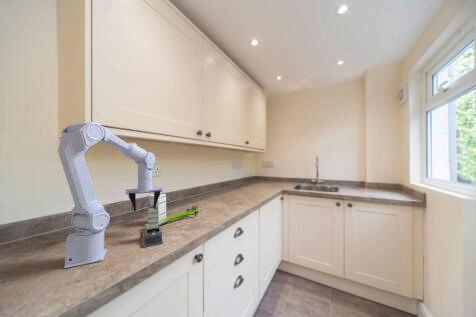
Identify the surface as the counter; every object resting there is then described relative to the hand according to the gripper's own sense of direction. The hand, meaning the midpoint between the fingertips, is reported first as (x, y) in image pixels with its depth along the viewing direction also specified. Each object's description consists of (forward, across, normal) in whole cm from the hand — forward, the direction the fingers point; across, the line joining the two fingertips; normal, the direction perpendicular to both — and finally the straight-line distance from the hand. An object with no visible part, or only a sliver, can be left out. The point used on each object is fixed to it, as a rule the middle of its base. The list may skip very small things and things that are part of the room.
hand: (144, 209), depth 81 cm
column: (+7, -3, +8) cm, 11 cm away
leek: (+11, -14, -9) cm, 20 cm away
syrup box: (+11, -6, -12) cm, 17 cm away
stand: (+10, -2, +7) cm, 13 cm away
